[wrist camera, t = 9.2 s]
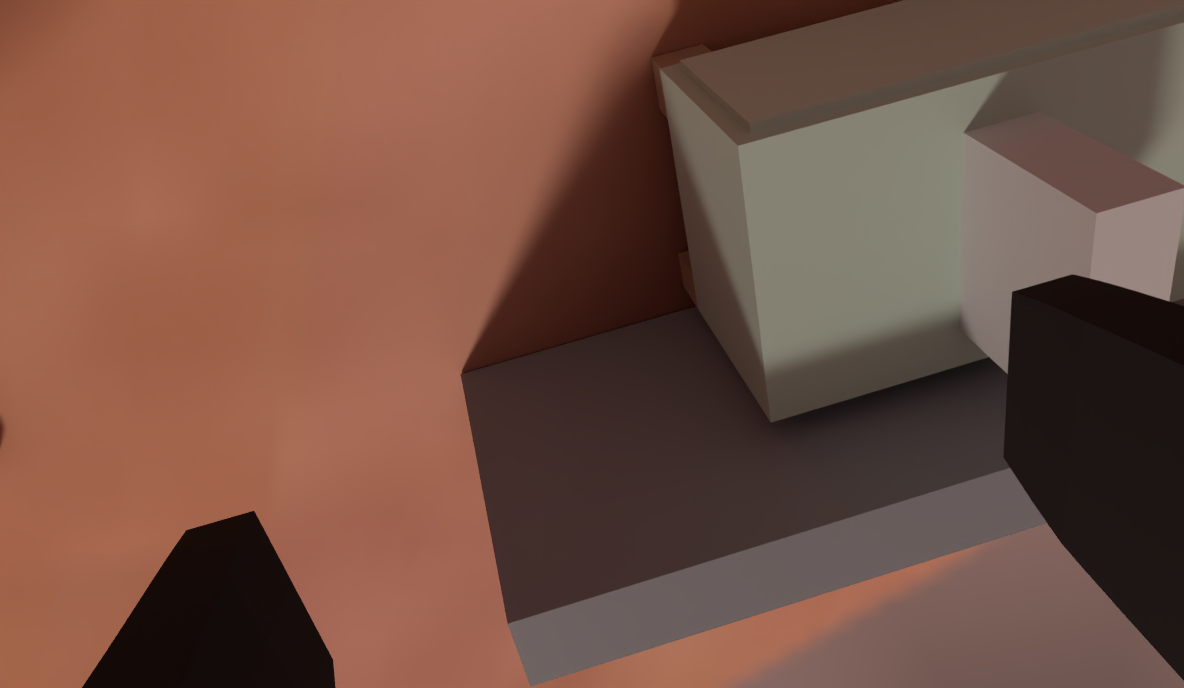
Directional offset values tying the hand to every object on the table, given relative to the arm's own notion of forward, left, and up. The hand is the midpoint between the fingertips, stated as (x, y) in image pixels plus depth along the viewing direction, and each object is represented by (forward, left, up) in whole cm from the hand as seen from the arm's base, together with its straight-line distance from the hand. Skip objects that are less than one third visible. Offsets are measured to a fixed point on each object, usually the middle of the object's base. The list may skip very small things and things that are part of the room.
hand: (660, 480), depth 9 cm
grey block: (+7, -2, -10) cm, 13 cm away
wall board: (+7, -4, -10) cm, 13 cm away
